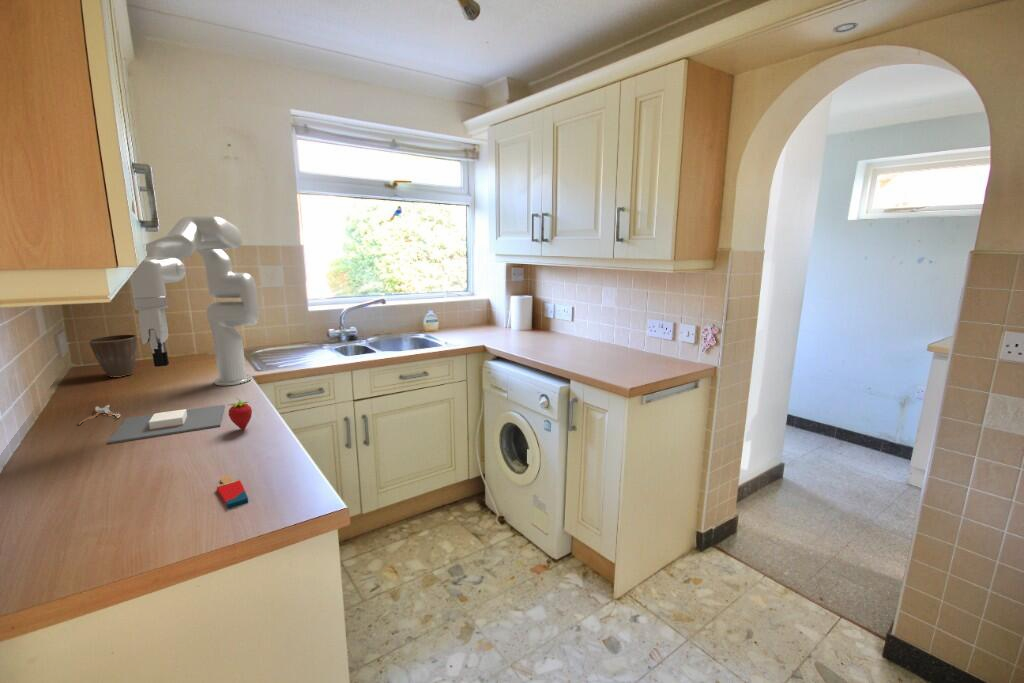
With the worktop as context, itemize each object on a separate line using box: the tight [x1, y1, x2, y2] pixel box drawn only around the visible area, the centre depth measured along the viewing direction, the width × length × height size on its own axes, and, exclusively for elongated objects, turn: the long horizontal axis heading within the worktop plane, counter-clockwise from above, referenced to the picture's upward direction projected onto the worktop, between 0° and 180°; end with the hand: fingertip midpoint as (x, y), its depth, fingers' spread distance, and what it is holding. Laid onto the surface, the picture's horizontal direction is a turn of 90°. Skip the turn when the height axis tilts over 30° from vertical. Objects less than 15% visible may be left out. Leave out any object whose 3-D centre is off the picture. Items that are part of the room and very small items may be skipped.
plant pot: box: [88, 334, 138, 377], centre depth 190 cm, size 15×15×16 cm
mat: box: [107, 404, 226, 445], centre depth 140 cm, size 20×26×1 cm
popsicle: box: [216, 475, 249, 510], centre depth 101 cm, size 5×2×15 cm
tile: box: [149, 408, 187, 430], centre depth 139 cm, size 2×8×8 cm
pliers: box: [94, 404, 121, 419], centre depth 147 cm, size 10×2×15 cm
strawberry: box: [227, 397, 253, 431], centre depth 134 cm, size 6×8×10 cm
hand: (161, 365), depth 135 cm, fingers closed
